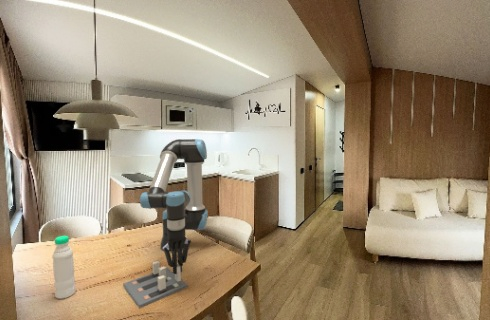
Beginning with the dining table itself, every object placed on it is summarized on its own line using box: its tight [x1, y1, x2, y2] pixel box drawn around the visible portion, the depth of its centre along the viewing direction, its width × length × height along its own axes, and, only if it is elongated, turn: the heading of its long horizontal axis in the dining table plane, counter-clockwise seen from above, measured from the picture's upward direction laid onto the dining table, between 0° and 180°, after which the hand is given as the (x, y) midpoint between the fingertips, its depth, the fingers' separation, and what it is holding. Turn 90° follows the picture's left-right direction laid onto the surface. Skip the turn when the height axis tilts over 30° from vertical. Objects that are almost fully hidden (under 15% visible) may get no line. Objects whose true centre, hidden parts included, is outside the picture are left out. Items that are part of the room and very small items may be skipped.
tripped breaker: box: [157, 275, 166, 293], centre depth 109 cm, size 2×3×6 cm
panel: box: [122, 267, 189, 309], centre depth 114 cm, size 20×21×1 cm
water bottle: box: [51, 235, 76, 300], centre depth 108 cm, size 7×7×25 cm
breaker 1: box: [151, 260, 161, 277], centre depth 122 cm, size 2×3×6 cm
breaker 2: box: [159, 265, 167, 281], centre depth 116 cm, size 2×3×6 cm
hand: (177, 279), depth 114 cm, fingers closed
